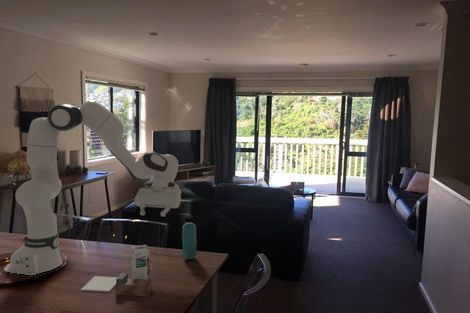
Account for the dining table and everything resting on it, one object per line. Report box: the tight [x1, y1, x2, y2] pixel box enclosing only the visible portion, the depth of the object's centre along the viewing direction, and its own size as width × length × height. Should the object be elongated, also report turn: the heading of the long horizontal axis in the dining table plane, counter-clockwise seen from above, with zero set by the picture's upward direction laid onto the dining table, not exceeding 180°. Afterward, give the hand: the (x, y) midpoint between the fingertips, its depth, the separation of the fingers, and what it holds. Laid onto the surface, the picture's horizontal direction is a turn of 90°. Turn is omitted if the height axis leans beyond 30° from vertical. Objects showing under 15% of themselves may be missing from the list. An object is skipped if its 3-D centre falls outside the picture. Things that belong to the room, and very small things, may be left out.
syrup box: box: [130, 244, 151, 280], centre depth 143 cm, size 6×6×14 cm
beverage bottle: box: [181, 215, 198, 260], centre depth 166 cm, size 6×7×20 cm
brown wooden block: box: [115, 272, 153, 297], centre depth 136 cm, size 12×5×6 cm, turn 85°
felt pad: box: [80, 275, 118, 293], centre depth 142 cm, size 11×11×1 cm
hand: (152, 215), depth 153 cm, fingers open, 8 cm apart
